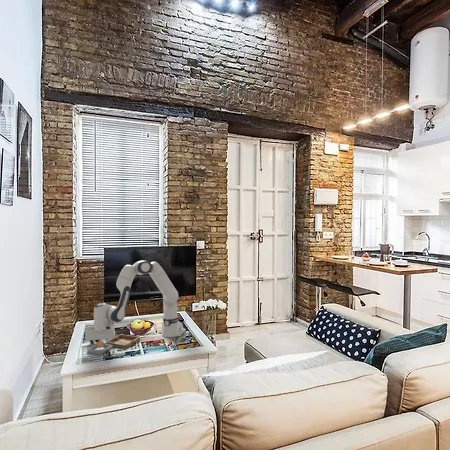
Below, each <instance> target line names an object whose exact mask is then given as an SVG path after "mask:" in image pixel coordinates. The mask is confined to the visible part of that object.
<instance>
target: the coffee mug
mask: <svg viewBox="0 0 450 450" xmlns="http://www.w3.org/2000/svg"><path fill="white" fill-rule="evenodd" d="M85 335H86V333H85V332H84V333H83V336H84V337H85ZM98 341H100V340H95V342H96V343H97V342H98ZM89 342H90V345H93V344H94V342H93V340H89Z"/></svg>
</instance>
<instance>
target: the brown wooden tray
mask: <svg viewBox="0 0 450 450" xmlns="http://www.w3.org/2000/svg"><path fill="white" fill-rule="evenodd" d="M139 341H141V337H140V336H136V335H135V336H134V335H129V334H123V333H120V334H118V335H115V338H114V339H108V340H107V342H106V341H105V342H106V344H110V345H113V348H118V349H123V350H126V349H127V348H129V347H131V346H133V345H134V344H136V343H137V342H139Z"/></svg>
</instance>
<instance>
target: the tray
mask: <svg viewBox="0 0 450 450" xmlns="http://www.w3.org/2000/svg"><path fill="white" fill-rule="evenodd" d="M103 347H105V348H103V349H102V350H101V349H99V350H98V349H96V348H98V347H97V346H94V345H93V346H90V347H88V348H87V349H86V353H88V354H92V355H93V354H94V355H97V356H102V355H104V354H105V353H106V352H107V351H108V352H109V350H112V349H113V348H114V347H113V345H110V344H106V345H104V346H103Z"/></svg>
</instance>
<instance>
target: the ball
mask: <svg viewBox="0 0 450 450" xmlns="http://www.w3.org/2000/svg"><path fill="white" fill-rule="evenodd" d="M104 342H105V341H103V340H102V339H101V340H100V341H98V342H97V348H99V349H101V348H103V347H104Z"/></svg>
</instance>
